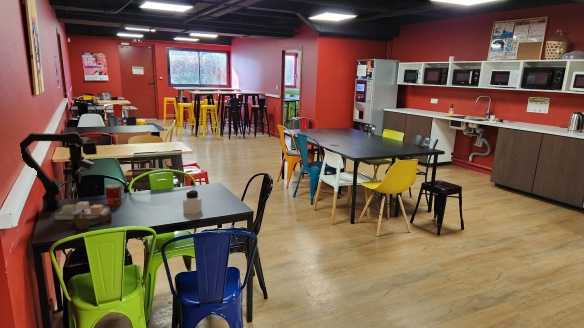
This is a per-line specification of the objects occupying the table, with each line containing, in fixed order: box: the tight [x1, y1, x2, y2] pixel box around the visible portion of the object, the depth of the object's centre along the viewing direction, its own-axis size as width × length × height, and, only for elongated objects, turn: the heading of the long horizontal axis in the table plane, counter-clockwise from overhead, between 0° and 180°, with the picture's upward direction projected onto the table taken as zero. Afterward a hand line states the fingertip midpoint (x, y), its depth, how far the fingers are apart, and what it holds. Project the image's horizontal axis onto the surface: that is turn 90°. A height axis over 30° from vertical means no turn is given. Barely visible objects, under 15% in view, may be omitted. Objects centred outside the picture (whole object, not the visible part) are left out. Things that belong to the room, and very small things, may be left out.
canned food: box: [104, 183, 123, 207], centre depth 214 cm, size 8×8×11 cm
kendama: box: [66, 211, 113, 231], centre depth 185 cm, size 6×10×20 cm
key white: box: [75, 201, 90, 210], centre depth 196 cm, size 5×5×3 cm
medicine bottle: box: [182, 189, 203, 216], centre depth 205 cm, size 7×7×12 cm
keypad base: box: [54, 205, 111, 220], centre depth 197 cm, size 22×12×4 cm, turn 95°
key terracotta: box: [90, 204, 104, 213], centre depth 197 cm, size 5×5×3 cm
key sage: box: [61, 204, 76, 213], centre depth 196 cm, size 5×5×3 cm
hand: (78, 183), depth 208 cm, fingers closed
